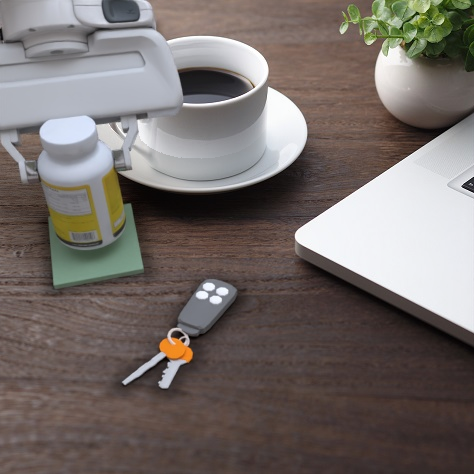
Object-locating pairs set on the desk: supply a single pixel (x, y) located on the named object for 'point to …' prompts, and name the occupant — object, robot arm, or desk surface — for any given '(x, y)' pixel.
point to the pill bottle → (80, 184)
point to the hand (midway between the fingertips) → (79, 176)
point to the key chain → (191, 327)
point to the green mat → (96, 258)
